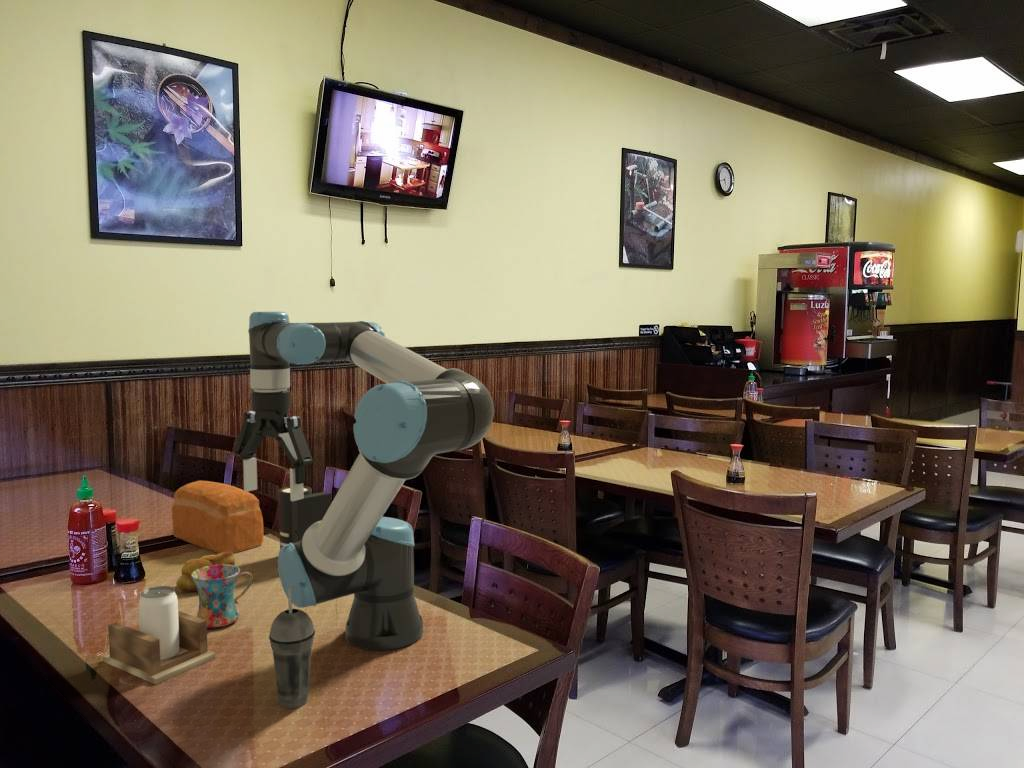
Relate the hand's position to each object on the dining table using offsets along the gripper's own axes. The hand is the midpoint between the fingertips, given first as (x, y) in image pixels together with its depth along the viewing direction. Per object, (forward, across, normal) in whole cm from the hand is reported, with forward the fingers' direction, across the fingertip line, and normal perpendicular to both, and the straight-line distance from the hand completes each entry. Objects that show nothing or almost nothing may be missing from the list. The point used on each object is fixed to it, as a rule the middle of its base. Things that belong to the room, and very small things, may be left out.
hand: (273, 495), depth 158 cm
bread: (+27, +56, -28) cm, 68 cm away
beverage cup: (+27, -27, +20) cm, 43 cm away
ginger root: (+27, +30, -5) cm, 41 cm away
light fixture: (+27, +25, -30) cm, 47 cm away
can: (+26, +5, +23) cm, 35 cm away
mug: (+27, +10, +5) cm, 29 cm away
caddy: (+27, +5, +23) cm, 36 cm away
